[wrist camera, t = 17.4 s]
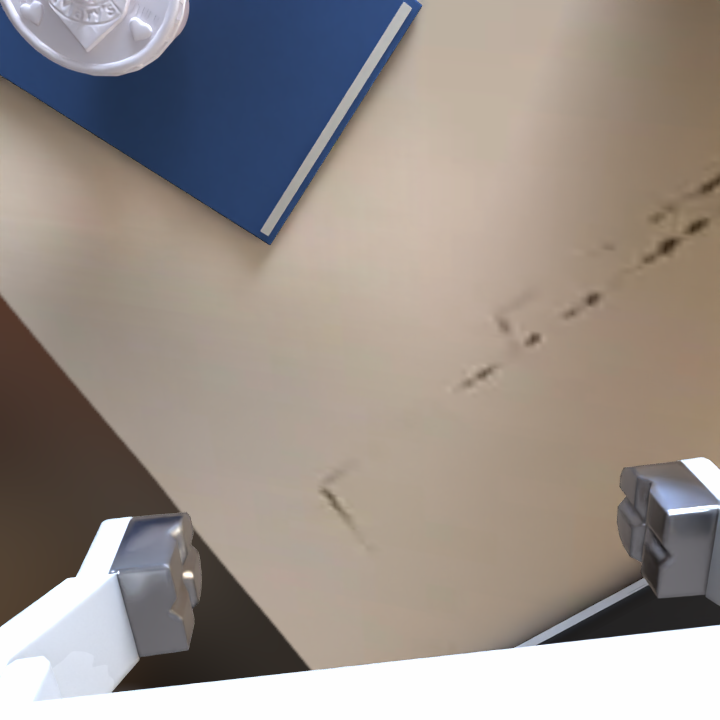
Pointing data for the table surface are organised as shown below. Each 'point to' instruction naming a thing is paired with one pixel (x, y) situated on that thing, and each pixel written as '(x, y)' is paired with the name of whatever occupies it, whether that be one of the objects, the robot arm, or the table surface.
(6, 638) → the robot arm
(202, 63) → the cloth
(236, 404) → the table surface
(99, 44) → the smoothie
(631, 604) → the smartphone
